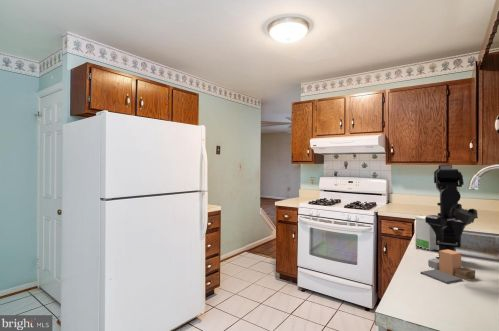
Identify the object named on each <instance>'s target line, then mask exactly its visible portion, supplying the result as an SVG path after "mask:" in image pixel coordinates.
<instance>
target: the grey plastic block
mask: <svg viewBox="0 0 499 331" xmlns="http://www.w3.org/2000/svg"><path fill="white" fill-rule="evenodd" d="M427 261H428V262H427V264H428V266H429V267H428V268H430V267H431V268H430V269H433V268H434V269H436V270H437V269H438V270H440V269H439V258H432V259H428V260H427ZM434 269H433V270H434Z"/></svg>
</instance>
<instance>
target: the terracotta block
mask: <svg viewBox="0 0 499 331" xmlns="http://www.w3.org/2000/svg"><path fill="white" fill-rule="evenodd" d="M438 256H439V258H438V259H439V269H438V270H439V271H442V272H445V273H448V274H450V275H453V276H456V269H459V268H463V267H462V252H459V251H457V250H456V251H452V250H449V249H447V250H440V251H439V250H438Z"/></svg>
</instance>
